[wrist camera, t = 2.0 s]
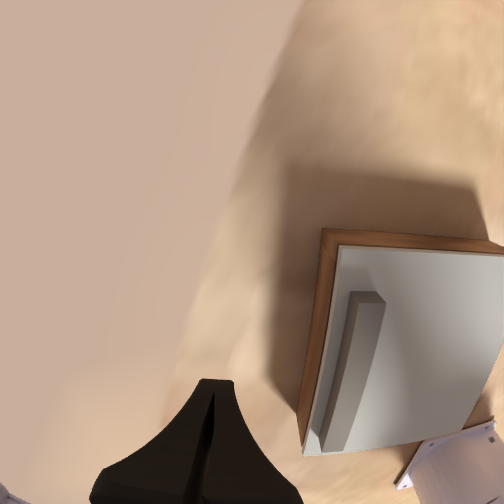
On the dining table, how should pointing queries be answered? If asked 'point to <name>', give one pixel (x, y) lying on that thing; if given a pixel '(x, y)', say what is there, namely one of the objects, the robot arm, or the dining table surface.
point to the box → (326, 286)
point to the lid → (405, 346)
